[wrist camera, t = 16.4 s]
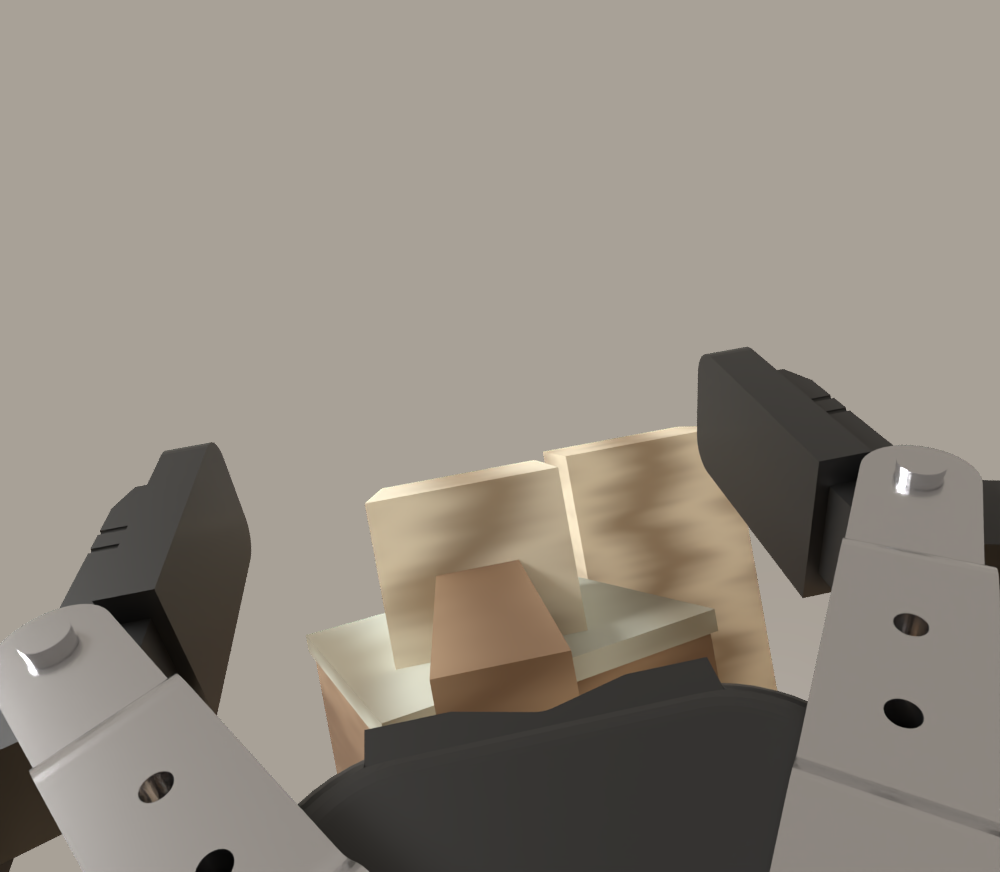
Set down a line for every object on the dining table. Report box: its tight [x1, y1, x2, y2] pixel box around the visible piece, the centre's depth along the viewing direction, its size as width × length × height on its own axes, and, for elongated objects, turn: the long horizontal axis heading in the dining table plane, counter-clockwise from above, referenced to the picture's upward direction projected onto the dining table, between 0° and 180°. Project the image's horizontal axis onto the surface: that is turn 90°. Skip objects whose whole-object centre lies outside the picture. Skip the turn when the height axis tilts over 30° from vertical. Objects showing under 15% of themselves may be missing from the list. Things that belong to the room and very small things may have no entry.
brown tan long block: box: [365, 460, 588, 715], centre depth 24 cm, size 7×18×6 cm, turn 4°
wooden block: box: [543, 426, 777, 691], centre depth 44 cm, size 10×10×34 cm
